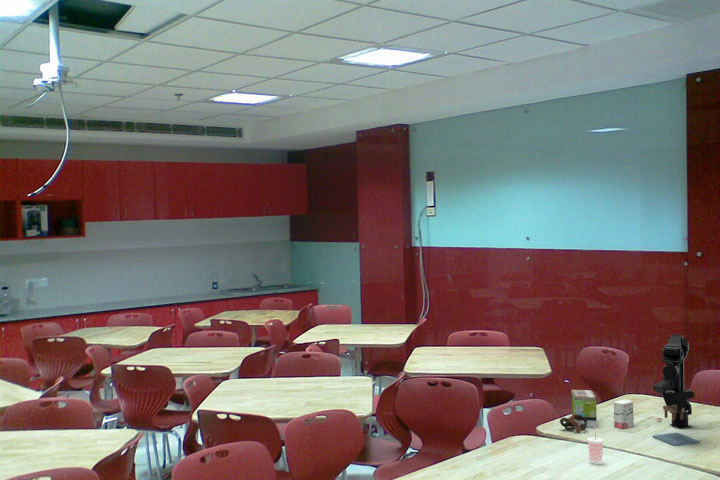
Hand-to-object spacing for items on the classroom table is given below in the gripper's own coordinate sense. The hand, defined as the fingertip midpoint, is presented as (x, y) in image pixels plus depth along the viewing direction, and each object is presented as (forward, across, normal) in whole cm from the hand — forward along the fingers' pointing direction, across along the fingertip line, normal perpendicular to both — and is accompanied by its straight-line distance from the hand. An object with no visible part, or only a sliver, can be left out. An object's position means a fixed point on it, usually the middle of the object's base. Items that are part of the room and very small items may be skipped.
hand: (673, 410), depth 287 cm
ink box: (+13, -25, -7) cm, 29 cm away
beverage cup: (+13, +13, -48) cm, 52 cm away
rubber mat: (+13, 0, 0) cm, 13 cm away
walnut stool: (+4, 0, 0) cm, 4 cm away
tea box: (+13, -36, -21) cm, 43 cm away
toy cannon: (+13, -28, -32) cm, 44 cm away
